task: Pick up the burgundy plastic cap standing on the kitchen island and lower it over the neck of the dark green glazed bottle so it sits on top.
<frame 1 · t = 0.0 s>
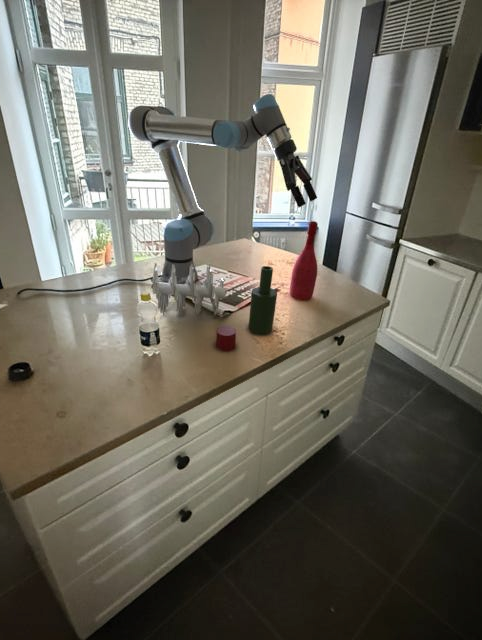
hand: (308, 202, 134), 36 cm above the worktop, tool tilted 35°, fingers open, 13 cm apart
oil bottle: (260, 329, 127), on the worktop
cap: (225, 345, 117), on the worktop
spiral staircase: (189, 313, 134), on the worktop
wine bottle: (300, 297, 153), on the worktop
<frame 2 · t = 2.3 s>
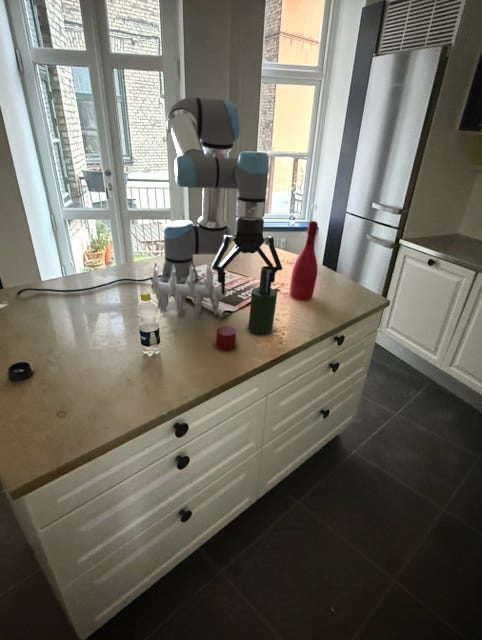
hand: (245, 292, 110), 17 cm above the worktop, tool pointing down, fingers open, 13 cm apart
nothing on the worktop moved.
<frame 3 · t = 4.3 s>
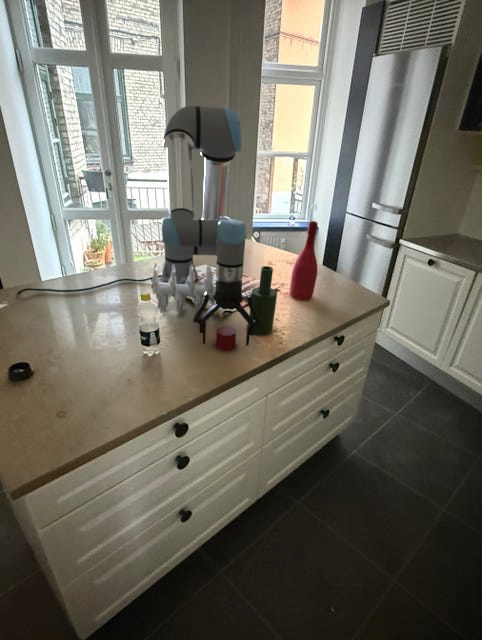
hand: (225, 342, 116), 1 cm above the worktop, tool pointing down, fingers open, 13 cm apart
nothing on the worktop moved.
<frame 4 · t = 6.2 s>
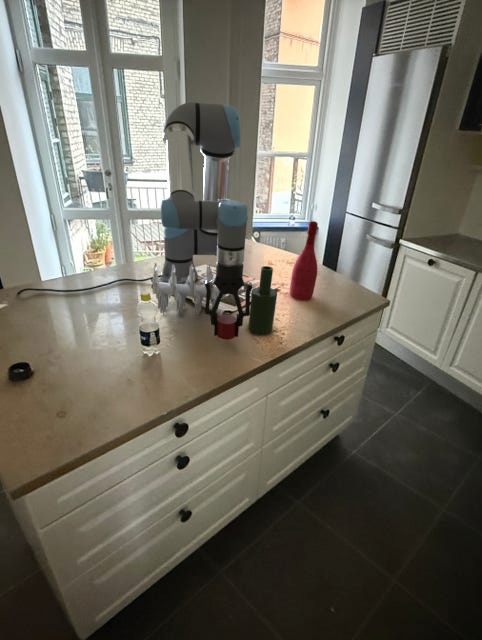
hand: (226, 333, 115), 4 cm above the worktop, tool pointing down, fingers closed on cap, 6 cm apart
cap: (225, 334, 115), point 4 cm above the worktop, touching gripper
everything else where it was.
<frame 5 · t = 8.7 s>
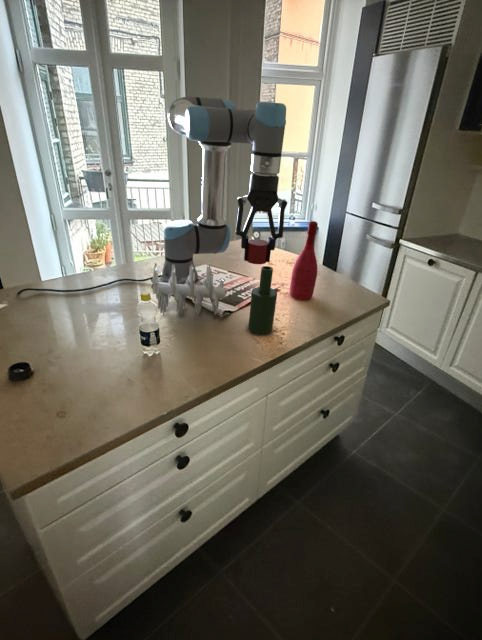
hand: (256, 259, 110), 26 cm above the worktop, tool pointing down, fingers closed on cap, 6 cm apart
cap: (256, 260, 110), point 25 cm above the worktop, touching gripper
everything else where it was.
when the fingers open (17 cm above the worktop, at t = 11.6 s): cap stays where it is, resting on oil bottle.
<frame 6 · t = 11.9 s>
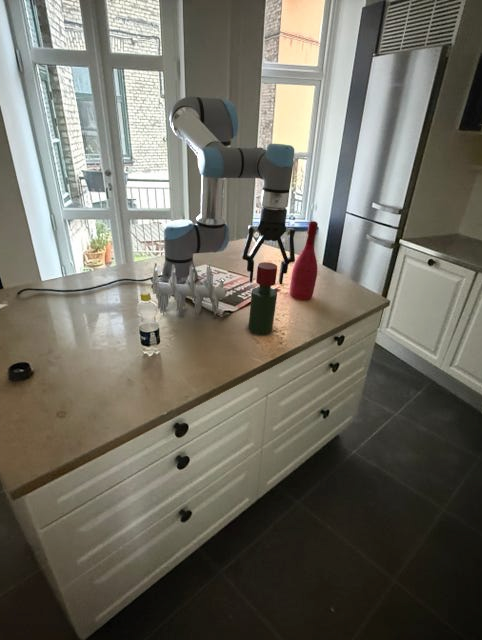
hand: (265, 281, 118), 17 cm above the worktop, tool pointing down, fingers open, 9 cm apart
cap: (265, 282, 118), point 17 cm above the worktop, touching oil bottle
everything else where it was.
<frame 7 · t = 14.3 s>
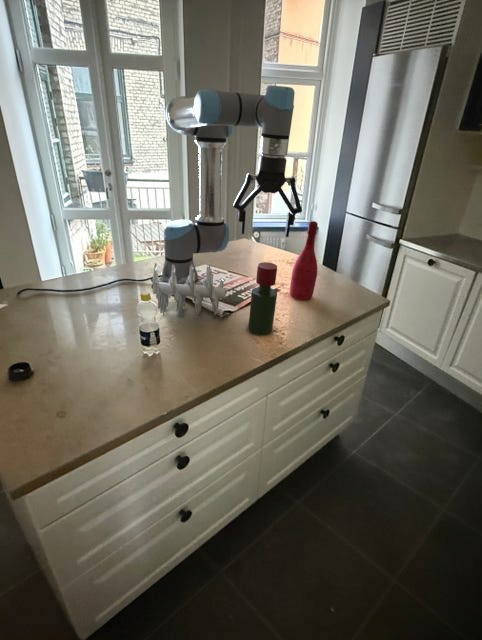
hand: (264, 234, 113), 31 cm above the worktop, tool pointing down, fingers open, 13 cm apart
nothing on the worktop moved.
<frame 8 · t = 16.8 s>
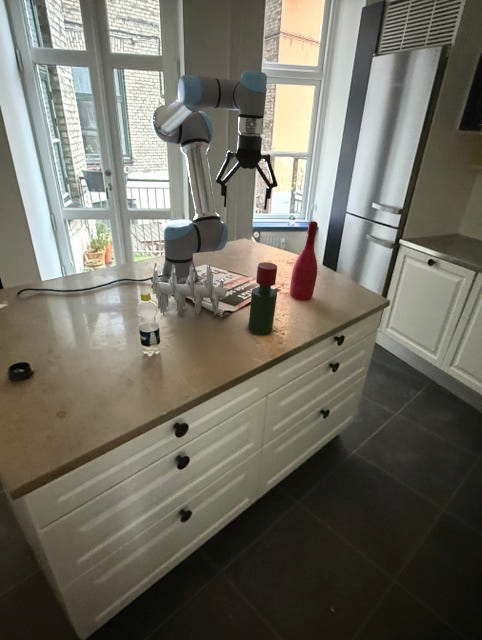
hand: (244, 207, 126), 35 cm above the worktop, tool pointing down, fingers open, 13 cm apart
nothing on the worktop moved.
at the end: cap 0.0 cm off-centre in the oil bottle, point 17.3 cm above the oil bottle's base; cap tilted 0°; the gripper is holding nothing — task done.
